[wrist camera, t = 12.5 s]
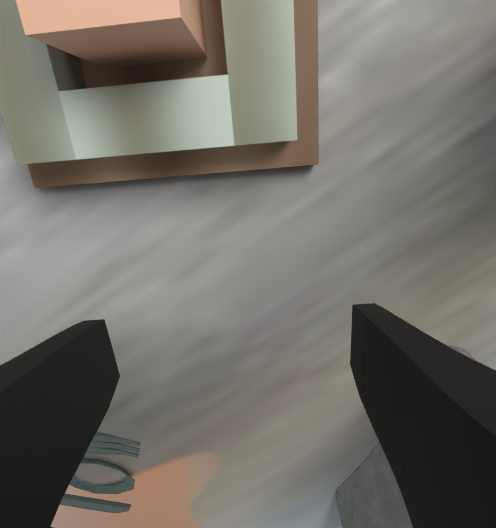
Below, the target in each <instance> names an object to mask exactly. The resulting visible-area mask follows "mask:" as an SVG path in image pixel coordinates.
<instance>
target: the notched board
mask: <svg viewBox="0 0 496 528" xmlns="http://www.w3.org/2000/svg"><path fill="white" fill-rule="evenodd" d="M201 4H202V13H203V22H204V31H205V39H206V48H207V58H198V59H188V60H179V61H170V62H161V63H151V64H142V65H133V66H123V67H114V68H104V67H101V66H99V65H96V64H94V63H92V62H89V61H87V60H84V59H82V58H80V57H77V56H75V55H72V54H70V53H67V52H65V51H63V50H60V49H58V48H55V47H53V46H51V45H48V44H46V43H43V42H41V41H39V40H36V39H34V38H31V37H29V36H26V35H25V32H24V28H23V25H22V21H21V18H20V14H19V10H18V7H17V3H16V0H0V113H1V116H2V119H3V122H4V125H5V128H6V131H7V134H8V137H9V140H10V143H11V146H12V150H13V153H14V156H15V159H16V162H17V165H20V164H28V168H29V171H30V174H31V177H32V180H33V184H34V187H35V188H42V187H54V186H66V185H78V184H90V183H102V182H114V181H126V180H138V179H150V178H161V177H173V176H185V175H197V174H209V173H221V172H233V171H245V170H257V169H269V168H281V167H293V166H305V165H316V164H318V1H317V0H201Z"/></svg>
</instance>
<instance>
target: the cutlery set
mask: <svg viewBox="0 0 496 528" xmlns="http://www.w3.org/2000/svg"><path fill="white" fill-rule="evenodd" d="M113 442H118V443H127V444H132V445H137V446H140V443H139V442H135V441H131V440H126V439H122V438H118V437H113V436H109V435H105V434H100V433H96V434H95V436H94V438H93V440H92V441H91V443H90V445H89V447H88V449H87V451H86V453H99V454H119V455H127V456H132V457H136V458H138V454H136V453H131V452H127V451H123V450H118V449H127V450H132V451H136V452H139V448H135V447H131V446H126V445H122V444H118V443H113ZM114 448H118V449H114ZM81 463H95V464H101V465H104V466H107V467H111V468H114V469H117V470H120V471H121V472H123V473H124V474H126V478H125V479H122V480H120V481H116V482H112V483H108V484H101V485H94V484H91V483H88V482H85V481H82V480H80V479H79V478H77V477H76V476H75V475H74V476H73V478H72V480H71V482H70V485H72V486H73V487H75V488H79V489H82V490H86V491H89V492H92V493H103V494H104V493H105V494H118V493H122V492H126V491H129V490H132V489H133V488H134V482H135V480H134V479H133V478H132V477H131V476H129V475H128V474H127V473H126V472H124V471H123V470H122V469H120V468H119V467H118V466H116V465H113V464H110V463H107V462H104V461H101V460H92V459H82V461H81ZM60 504H61V505H66V506H72V507H78V508H84V509H90V510H97V511H103V512H111V513H121V512H126V511H128V510H129V509H130V506H131V504H125V503H119V502H112V501H107V500H101V499H95V498H88V497H82V496H76V495H70V494H64V496H63V498H62V500H61V502H60ZM50 528H53V527H50Z"/></svg>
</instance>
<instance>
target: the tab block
mask: <svg viewBox="0 0 496 528" xmlns="http://www.w3.org/2000/svg"><path fill="white" fill-rule="evenodd" d="M16 3H17V7H18V10H19V14H20V18H21V21H22V25H23V28H24V32H25V35H26V36H29V37H31V38H34V39H36V40H39V41H41V42H43V43H46V44H48V45H51V46H53V47H55V48H58V49H60V50H63V51H65V52H67V53H70V54H72V55H75V56H77V57H80V58H82V59H84V60H87V61H89V62H92V63H94V64H96V65H99V66H101V67H104V68H114V67H123V66H133V65H142V64H151V63H161V62H170V61H179V60H188V59H198V58H207V48H206V39H205V31H204V22H203V13H202V4H201V0H16Z"/></svg>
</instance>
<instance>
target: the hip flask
mask: <svg viewBox="0 0 496 528" xmlns="http://www.w3.org/2000/svg"><path fill="white" fill-rule="evenodd" d="M450 348H452V349H454V350H456V351H458V352H460V353H462V354H463V355H465V356H467V357H469V358H471V359H473V358H472V356H471V355H470V354H469V353H468V352H466V351H465V350H463V349H461V348H457V347H450ZM473 360H474V359H473ZM336 499H337V503H338V508H339V512H340V517H341V522H342V526H343V528H413V526H412V523H411V520H410V517H409V514H408V511H407V509H406V506H405V503H404V500H403V497H402V494H401V491H400V489H399V486H398V484H397V481H396V479H395V476H394V474H393V471H392V469H391V467H390V465H389V462H388V460H387V458H386V456H385V453H384V451H383V449H382V447H381V444H380V442H379V443H378V444H377V446H376V447H375V448H374V450H373V451H372V452H371V454H370V455H369V456H368V457H367V458H366V460H365V461H364V462H363V463H362V464H361V465H360V466H359V468H358V469H357V470H356V471H355V472H354V473H353V474H352V475H351V476H350V477H349V478H348V479H347V480H346V481H345V482H344V483H343V484H341V485H340V487H339V488H338V489H337V491H336Z"/></svg>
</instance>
